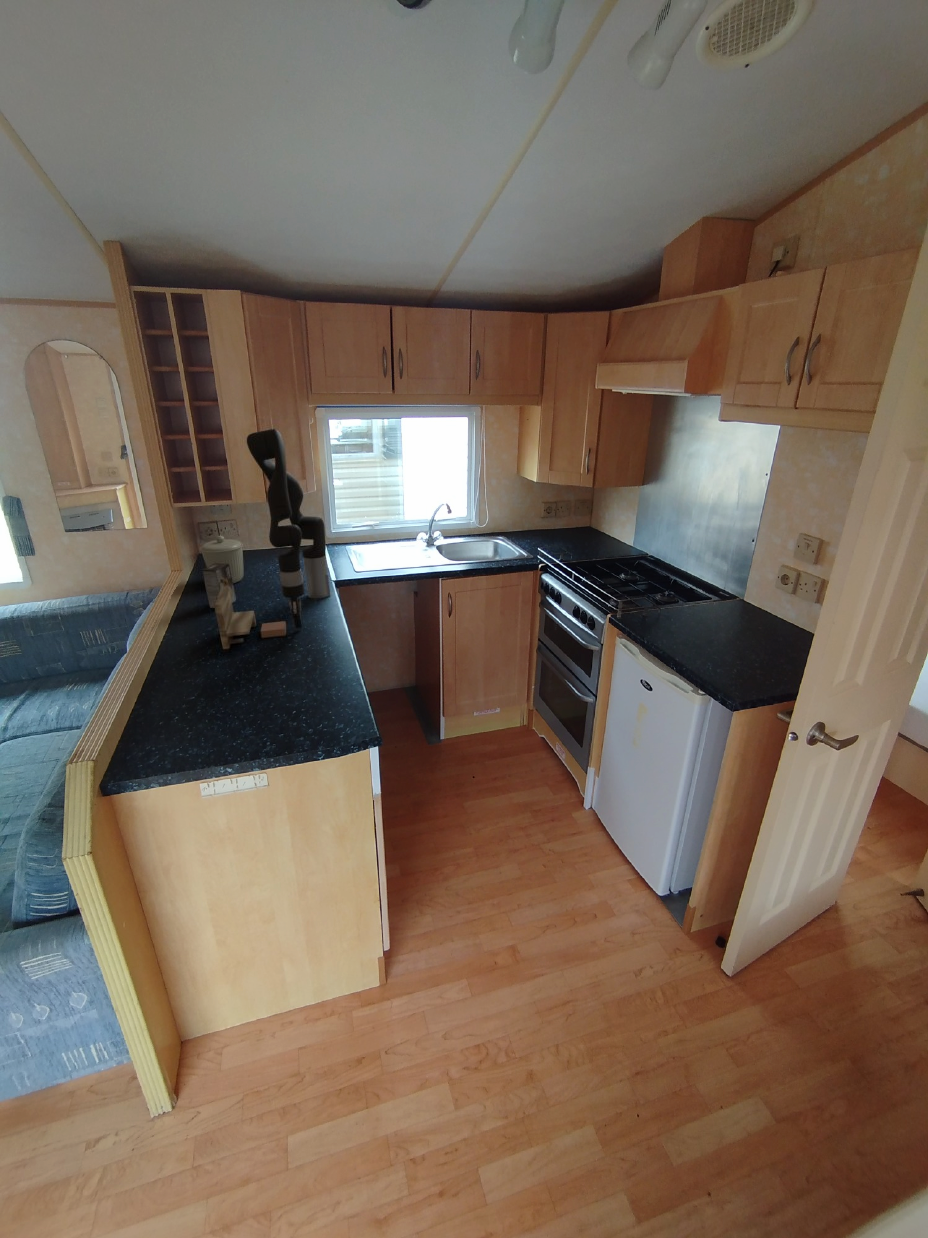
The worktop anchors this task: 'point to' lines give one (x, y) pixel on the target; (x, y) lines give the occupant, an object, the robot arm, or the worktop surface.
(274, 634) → the tan cardboard carton
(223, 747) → the worktop surface
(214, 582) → the coffee box
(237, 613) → the nook
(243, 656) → the worktop surface
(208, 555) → the canister
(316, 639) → the worktop surface
